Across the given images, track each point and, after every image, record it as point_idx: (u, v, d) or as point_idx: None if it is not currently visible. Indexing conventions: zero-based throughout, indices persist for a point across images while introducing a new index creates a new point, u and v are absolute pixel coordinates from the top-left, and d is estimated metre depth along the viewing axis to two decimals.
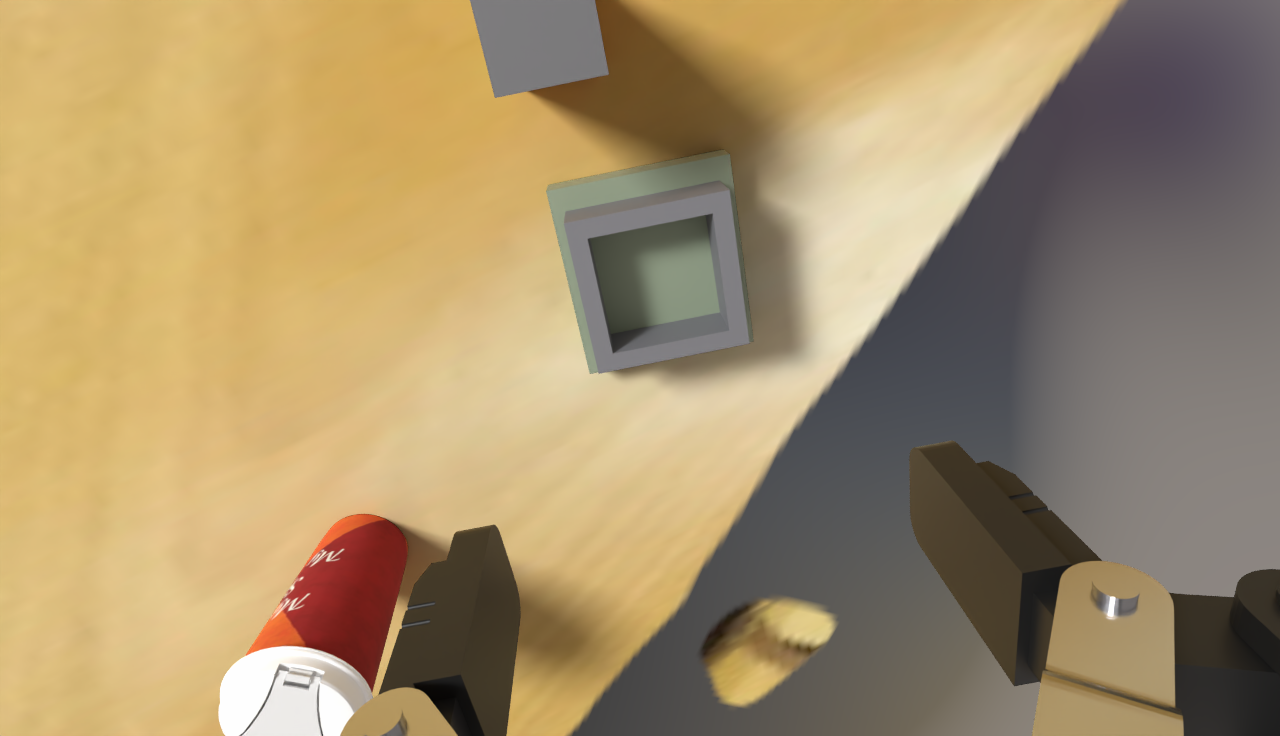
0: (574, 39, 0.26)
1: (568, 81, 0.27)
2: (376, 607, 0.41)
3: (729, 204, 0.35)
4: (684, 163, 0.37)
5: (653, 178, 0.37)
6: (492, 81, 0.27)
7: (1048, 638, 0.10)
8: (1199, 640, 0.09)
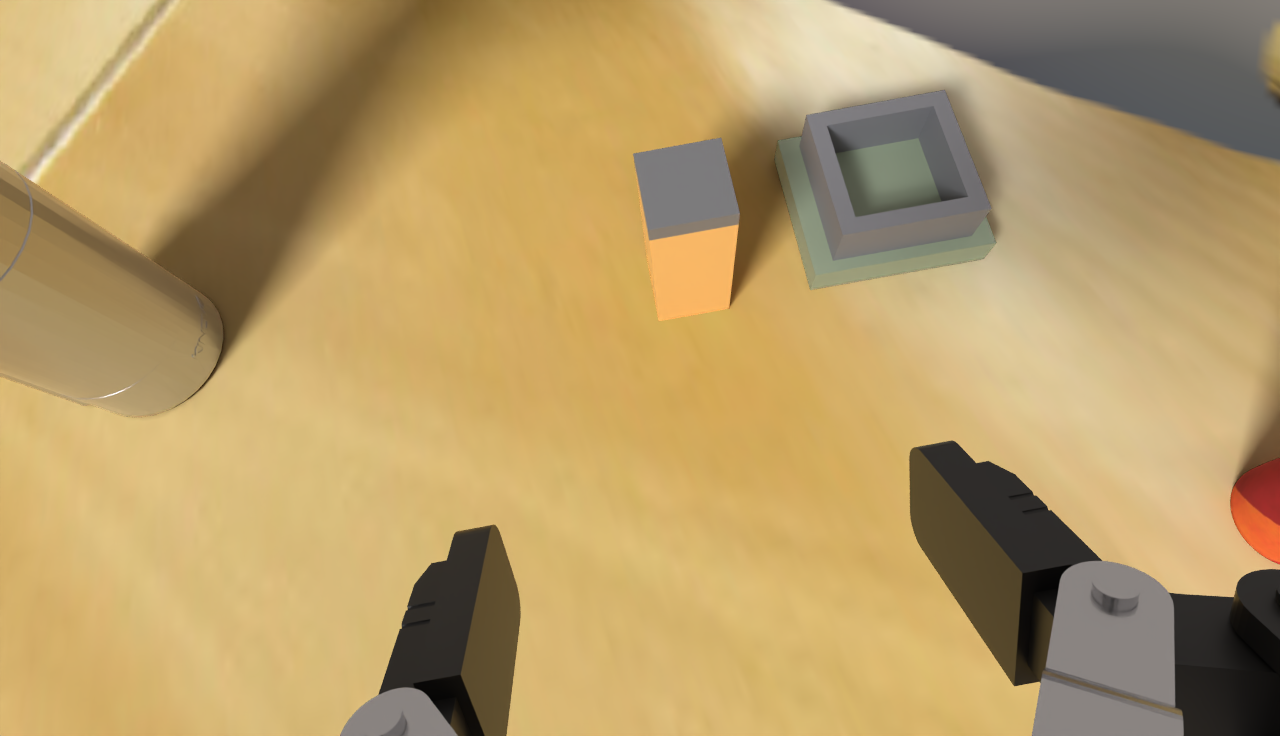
0: (697, 159, 0.35)
1: (726, 163, 0.35)
2: None
3: (818, 114, 0.42)
4: (786, 172, 0.45)
5: (800, 193, 0.44)
6: (727, 214, 0.34)
7: (1048, 638, 0.10)
8: (1199, 640, 0.09)
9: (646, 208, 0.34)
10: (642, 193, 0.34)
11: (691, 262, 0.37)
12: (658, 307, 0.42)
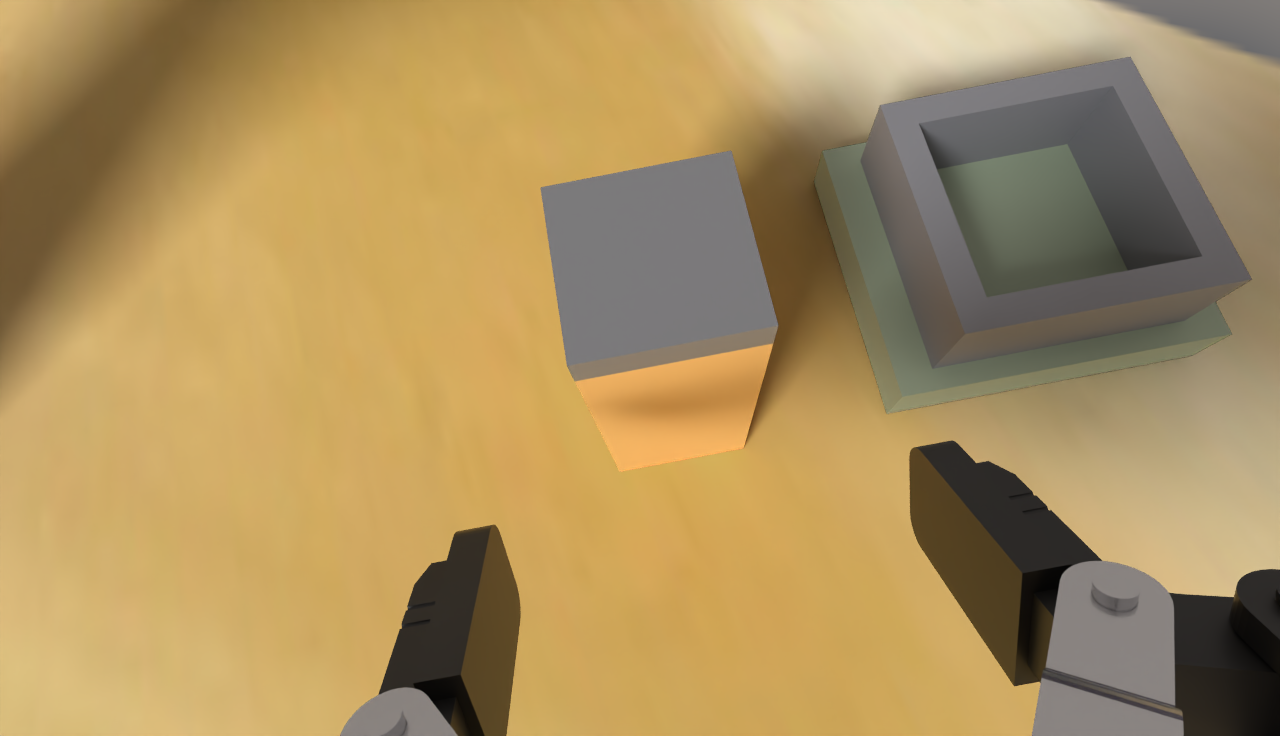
0: (679, 199, 0.16)
1: (744, 208, 0.16)
2: None
3: (902, 103, 0.23)
4: (840, 205, 0.26)
5: (866, 243, 0.25)
6: (750, 327, 0.15)
7: (1048, 638, 0.10)
8: (1199, 640, 0.09)
9: (564, 311, 0.15)
10: (557, 277, 0.15)
11: (673, 403, 0.18)
12: (616, 458, 0.23)
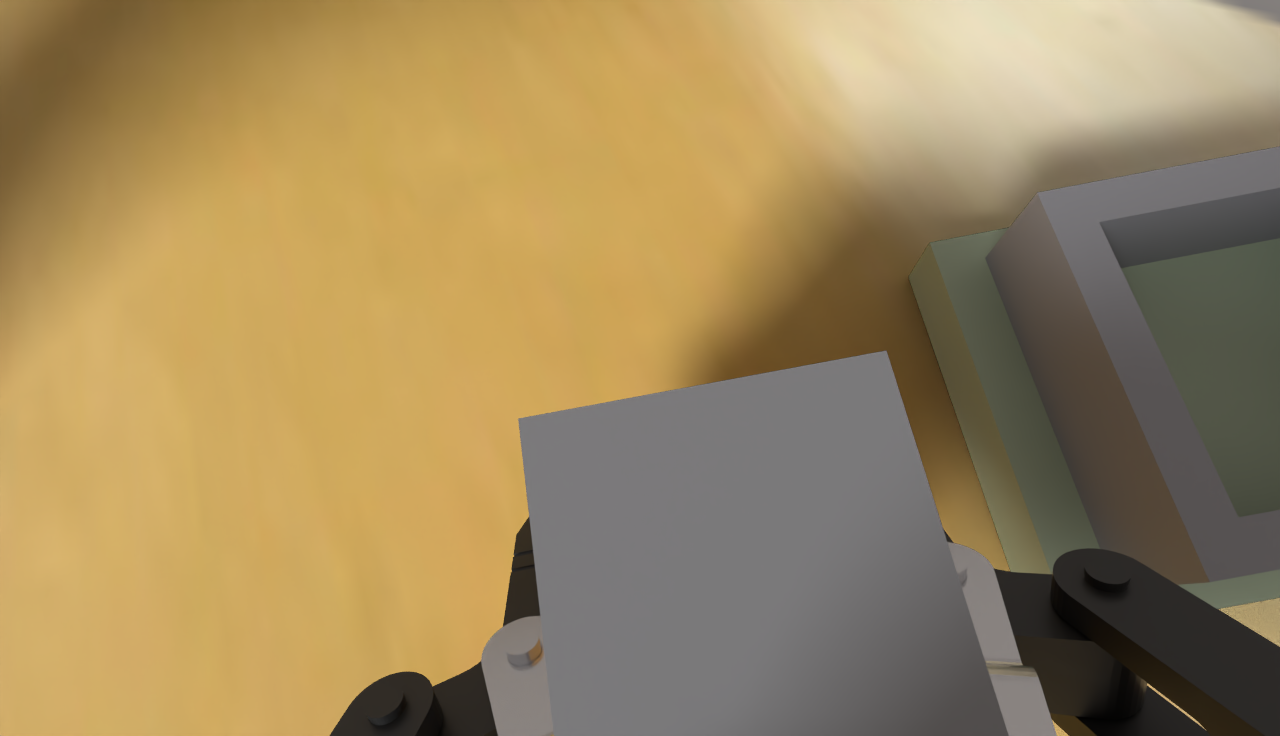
0: (789, 455, 0.08)
1: (923, 480, 0.08)
2: None
3: (1070, 190, 0.16)
4: (960, 325, 0.18)
5: (1002, 385, 0.17)
6: None
7: None
8: (1019, 613, 0.09)
9: (562, 711, 0.07)
10: (548, 626, 0.08)
11: None
12: None
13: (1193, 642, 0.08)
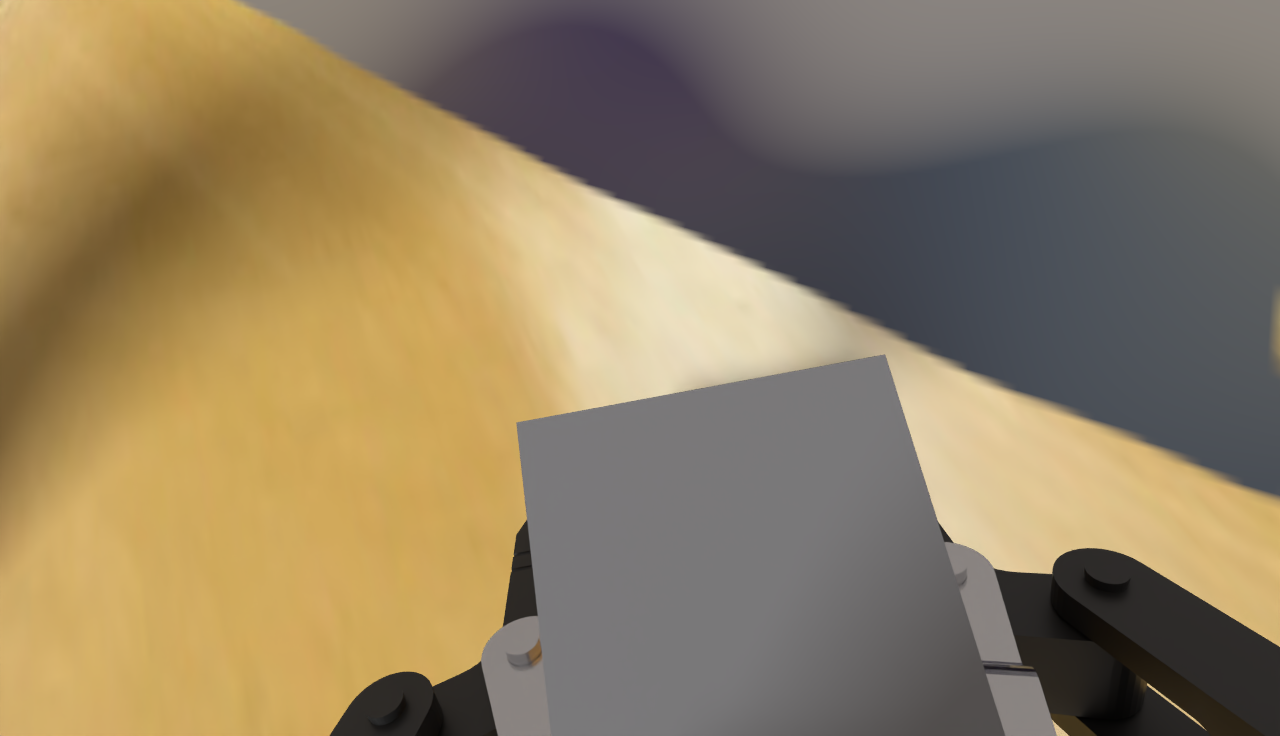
0: (787, 459, 0.08)
1: (922, 484, 0.08)
2: None
3: None
4: None
5: None
6: None
7: None
8: (1019, 613, 0.09)
9: (560, 718, 0.07)
10: (546, 631, 0.08)
11: None
12: None
13: (1193, 642, 0.08)
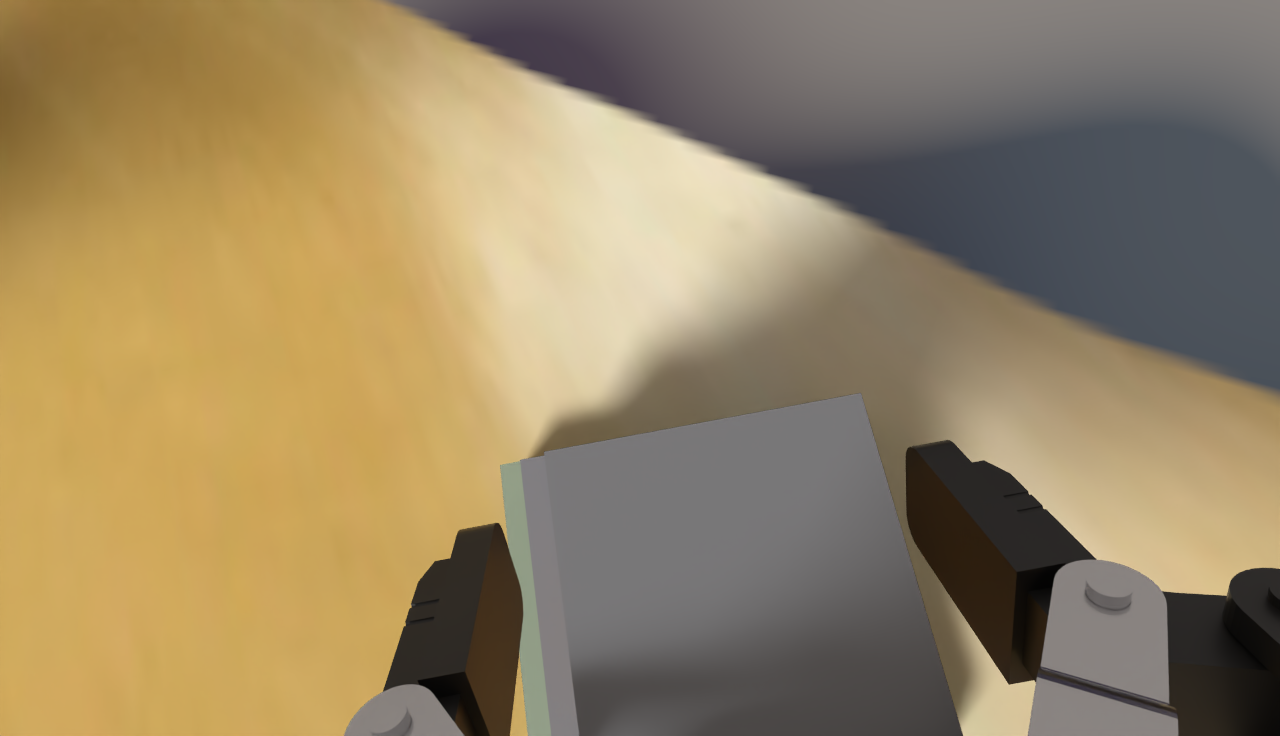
0: (776, 484, 0.09)
1: (891, 506, 0.09)
2: None
3: None
4: (509, 547, 0.20)
5: (531, 607, 0.20)
6: None
7: (1042, 637, 0.10)
8: (1192, 639, 0.09)
9: (585, 704, 0.09)
10: (572, 631, 0.09)
11: None
12: None
13: None
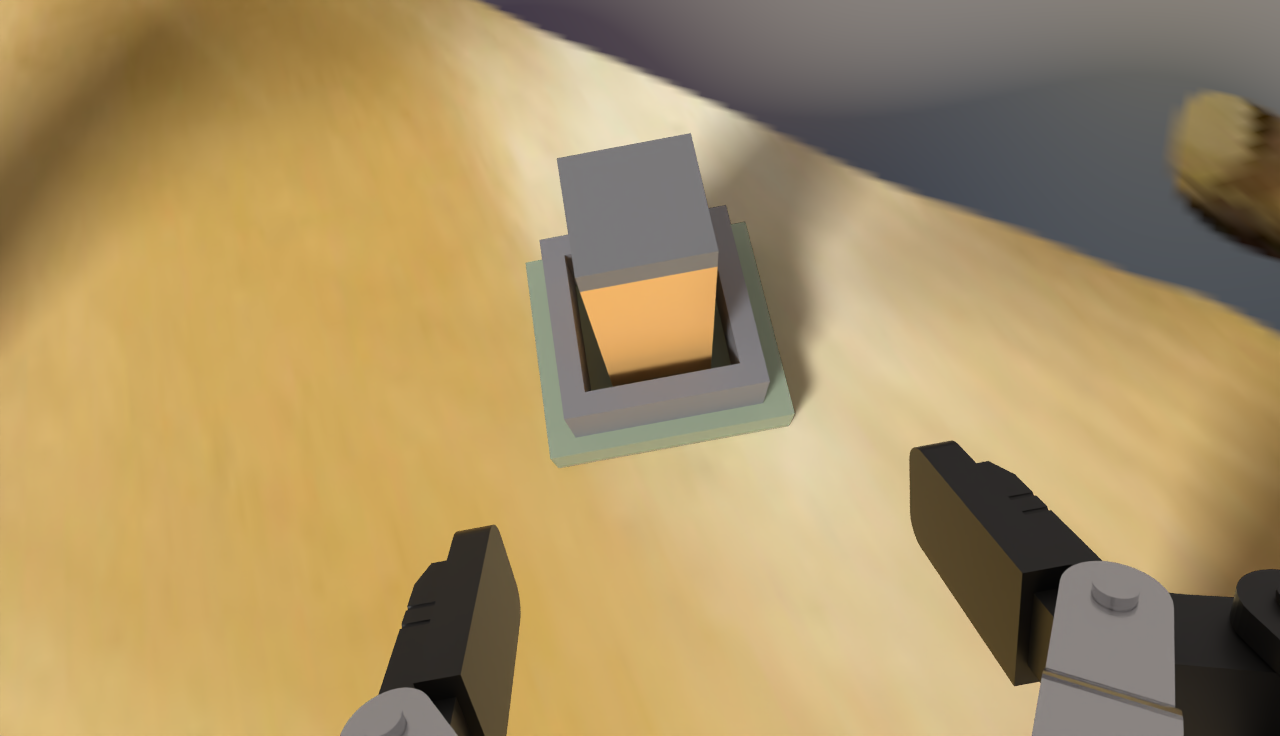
0: (653, 167, 0.23)
1: (698, 173, 0.22)
2: None
3: (555, 239, 0.31)
4: (532, 307, 0.34)
5: (545, 338, 0.33)
6: (699, 252, 0.21)
7: (1048, 638, 0.10)
8: (1199, 641, 0.09)
9: (573, 242, 0.22)
10: (568, 219, 0.22)
11: (650, 318, 0.25)
12: (610, 373, 0.30)
13: None
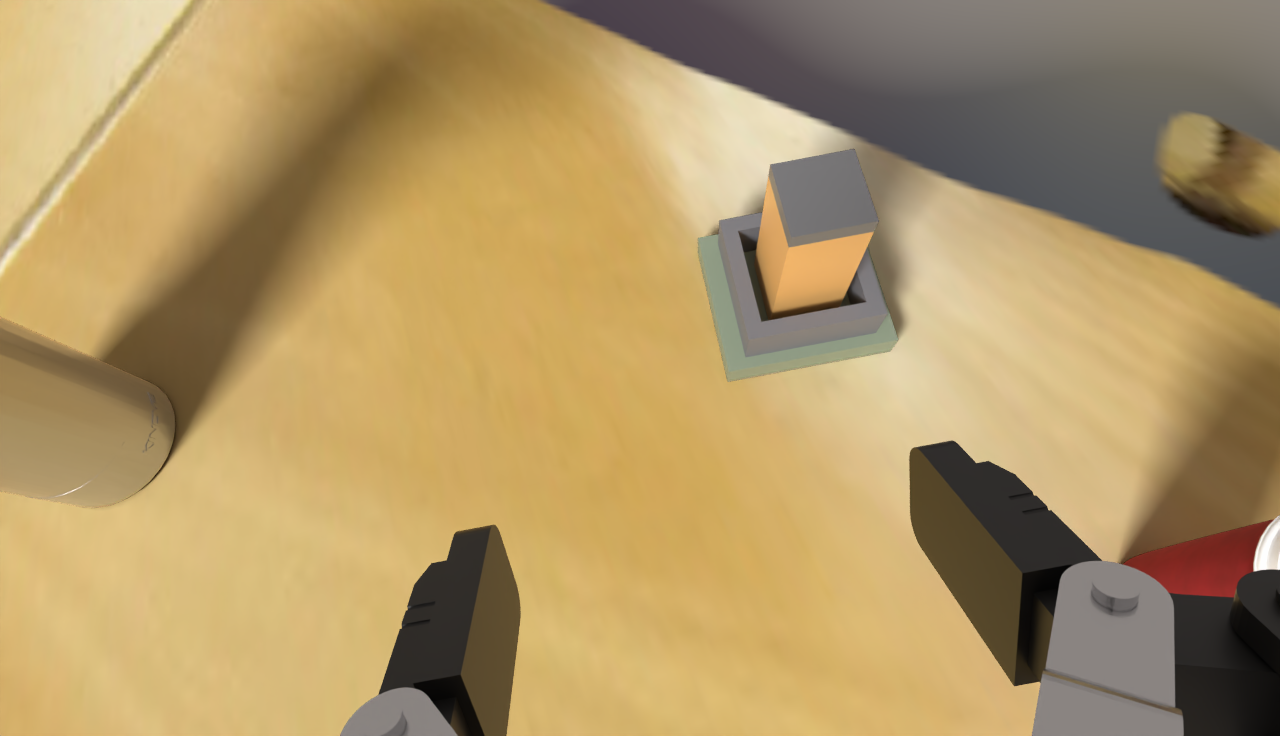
0: (832, 169, 0.36)
1: (861, 173, 0.36)
2: (1213, 536, 0.34)
3: (730, 219, 0.45)
4: (705, 269, 0.47)
5: (717, 290, 0.47)
6: (867, 221, 0.35)
7: (1048, 638, 0.10)
8: (1199, 640, 0.09)
9: (787, 216, 0.36)
10: (782, 202, 0.36)
11: (819, 267, 0.39)
12: (773, 311, 0.44)
13: None
